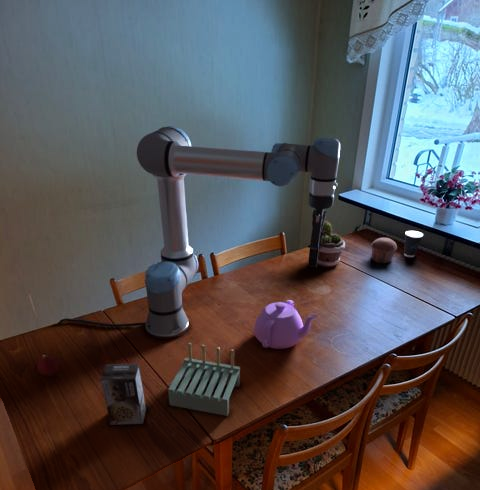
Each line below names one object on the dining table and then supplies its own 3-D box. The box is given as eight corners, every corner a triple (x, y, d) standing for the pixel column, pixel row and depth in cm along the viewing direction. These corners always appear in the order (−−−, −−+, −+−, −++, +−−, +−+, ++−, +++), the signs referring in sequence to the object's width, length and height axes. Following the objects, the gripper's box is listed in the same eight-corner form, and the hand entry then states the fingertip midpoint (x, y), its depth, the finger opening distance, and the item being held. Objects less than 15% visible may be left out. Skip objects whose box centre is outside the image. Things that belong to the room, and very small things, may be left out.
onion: (53, 367, 141) (48, 346, 137) (64, 374, 138) (58, 354, 134) (36, 376, 137) (30, 355, 133) (46, 384, 134) (40, 363, 130)
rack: (169, 405, 127) (165, 369, 120) (186, 374, 139) (183, 340, 132) (227, 416, 124) (227, 380, 117) (239, 383, 135) (240, 349, 128)
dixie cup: (404, 250, 219) (409, 229, 213) (420, 255, 215) (425, 233, 209) (397, 255, 214) (402, 233, 208) (413, 260, 210) (419, 238, 204)
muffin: (371, 263, 206) (375, 243, 201) (366, 253, 216) (370, 234, 210) (397, 264, 206) (401, 244, 201) (391, 254, 215) (395, 234, 210)
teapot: (301, 367, 142) (304, 331, 135) (241, 347, 151) (242, 312, 143) (324, 333, 158) (329, 299, 151) (269, 316, 167) (271, 284, 160)
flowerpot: (348, 267, 203) (355, 225, 192) (317, 271, 199) (322, 229, 188) (334, 254, 214) (340, 214, 203) (304, 258, 211) (308, 217, 200)
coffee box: (146, 407, 126) (140, 363, 118) (143, 424, 121) (136, 379, 112) (114, 408, 126) (105, 363, 117) (109, 425, 121) (99, 379, 112)
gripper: (331, 207, 124) (322, 275, 135) (336, 182, 144) (328, 243, 156) (304, 205, 125) (298, 272, 137) (313, 180, 146) (307, 241, 157)
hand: (314, 257), depth 146 cm, fingers open, 13 cm apart
